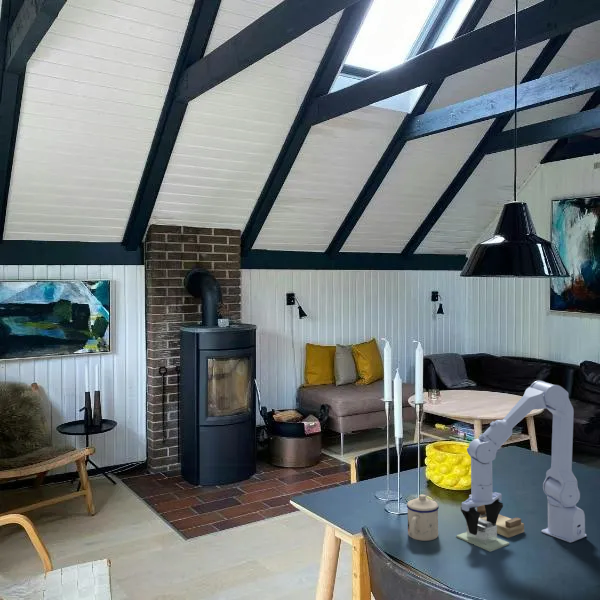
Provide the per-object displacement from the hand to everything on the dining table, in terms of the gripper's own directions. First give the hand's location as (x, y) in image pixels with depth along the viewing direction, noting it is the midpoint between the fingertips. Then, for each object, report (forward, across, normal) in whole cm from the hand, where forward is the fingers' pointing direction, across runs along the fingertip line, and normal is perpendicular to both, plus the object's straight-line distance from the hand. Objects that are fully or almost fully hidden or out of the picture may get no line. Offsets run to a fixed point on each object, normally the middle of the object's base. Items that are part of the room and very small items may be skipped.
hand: (482, 530), depth 176 cm
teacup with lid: (+3, +12, -12) cm, 17 cm away
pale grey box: (+2, 0, 0) cm, 2 cm away
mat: (+3, 0, 0) cm, 3 cm away
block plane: (+3, -11, -4) cm, 12 cm away
